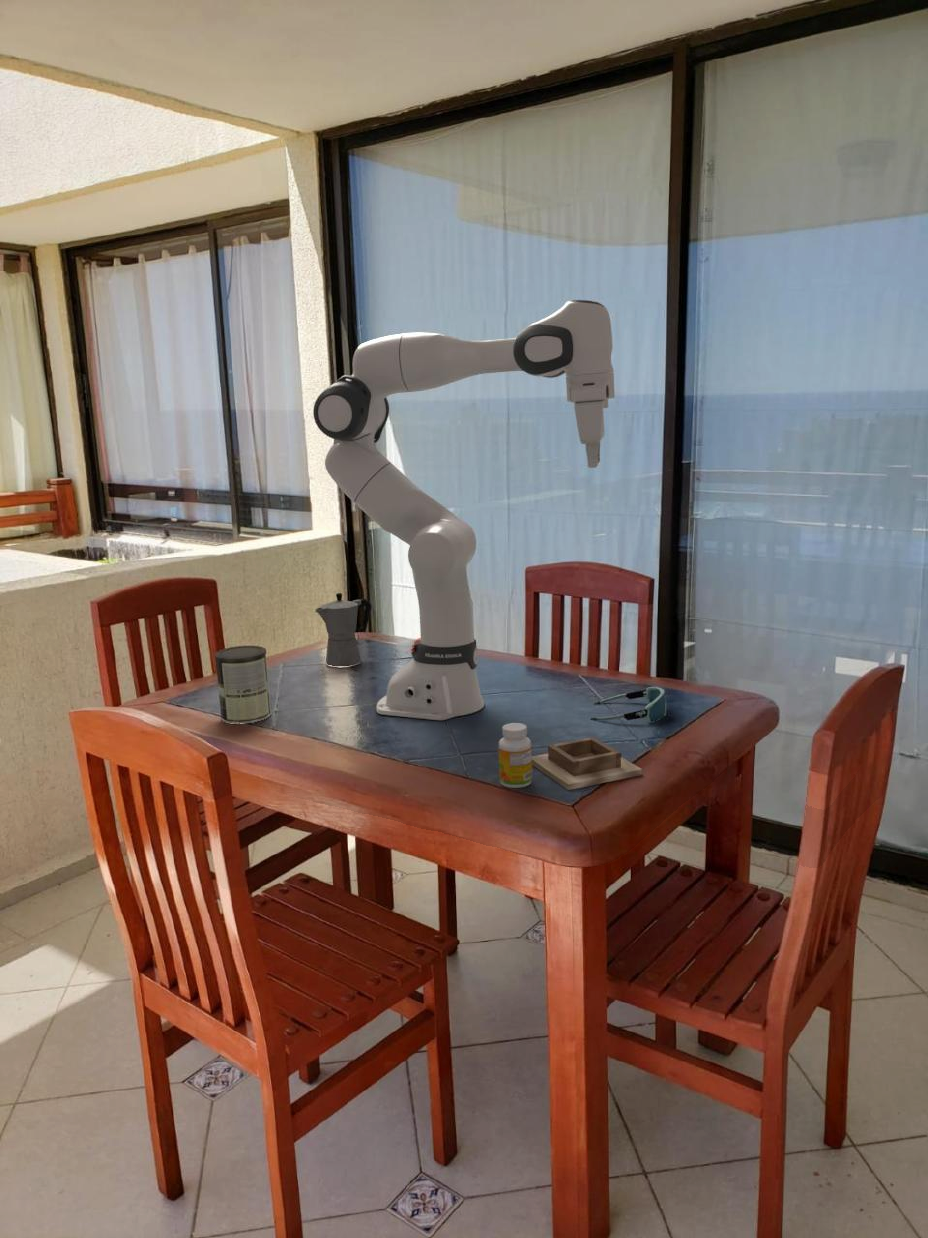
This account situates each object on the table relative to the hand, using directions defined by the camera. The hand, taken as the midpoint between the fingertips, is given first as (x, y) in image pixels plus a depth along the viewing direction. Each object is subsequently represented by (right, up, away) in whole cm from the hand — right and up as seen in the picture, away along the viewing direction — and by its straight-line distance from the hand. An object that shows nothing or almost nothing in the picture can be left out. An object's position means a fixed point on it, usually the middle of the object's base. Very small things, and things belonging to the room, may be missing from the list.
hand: (594, 465), depth 177 cm
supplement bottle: (-16, -56, -23) cm, 63 cm away
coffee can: (-70, -50, +17) cm, 88 cm away
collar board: (-4, -55, -18) cm, 58 cm away
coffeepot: (-54, -40, +57) cm, 88 cm away
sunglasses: (+9, -49, +11) cm, 51 cm away
